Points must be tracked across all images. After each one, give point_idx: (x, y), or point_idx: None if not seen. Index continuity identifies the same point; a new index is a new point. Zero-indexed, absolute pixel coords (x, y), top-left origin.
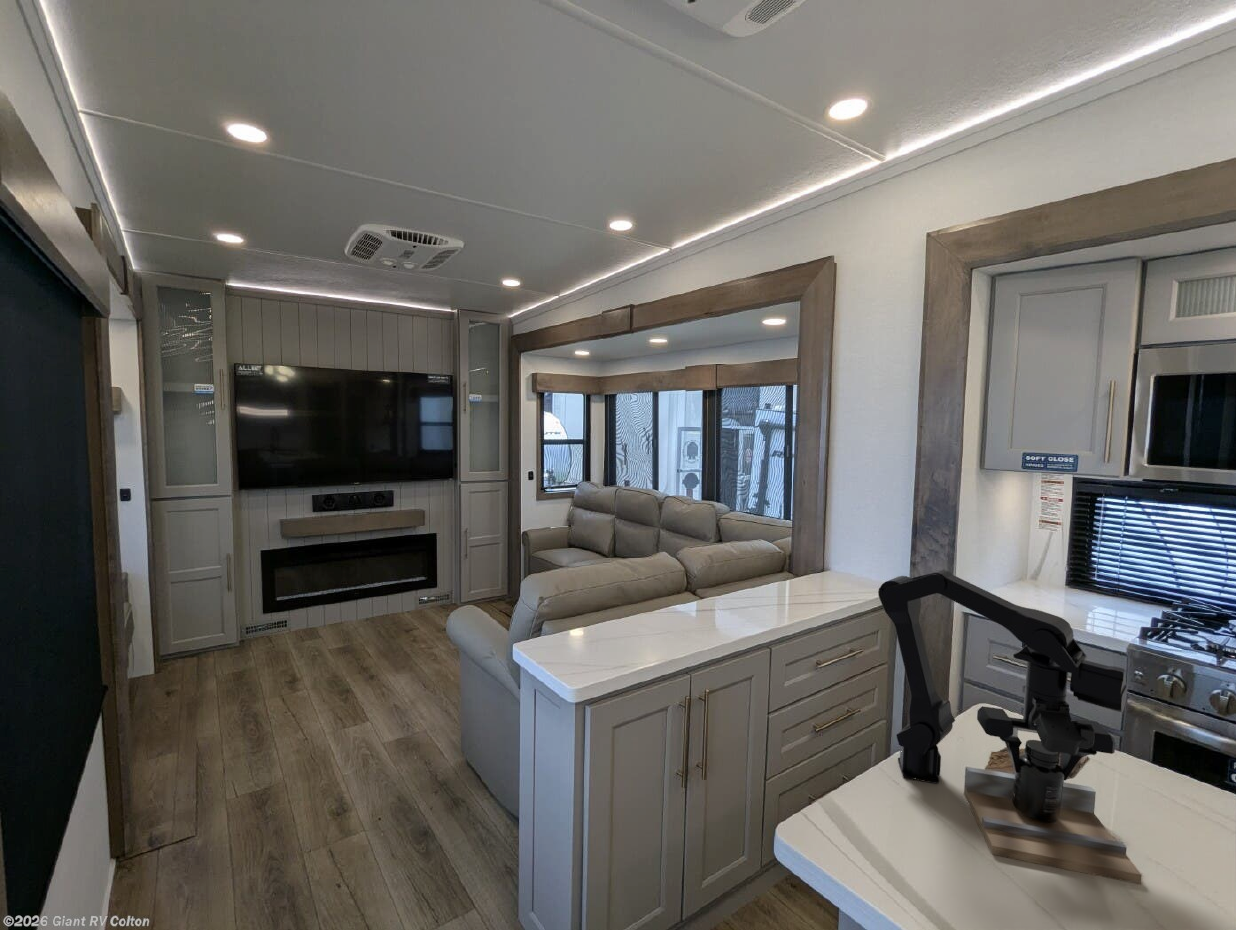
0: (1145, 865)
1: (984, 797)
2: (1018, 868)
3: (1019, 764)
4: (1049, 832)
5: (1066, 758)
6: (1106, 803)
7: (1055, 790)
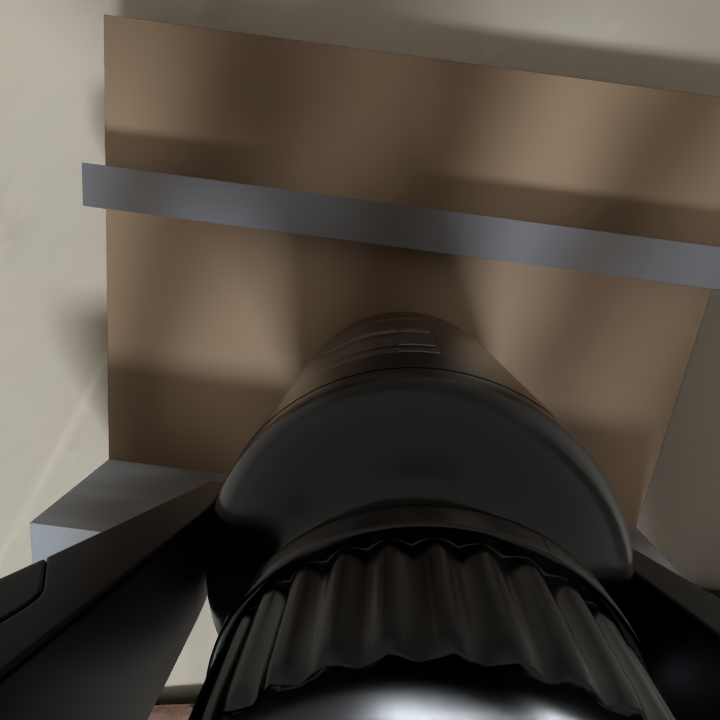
0: (49, 181)
1: None
2: (658, 33)
3: (644, 575)
4: (433, 218)
5: (94, 674)
6: (22, 564)
7: (363, 350)
